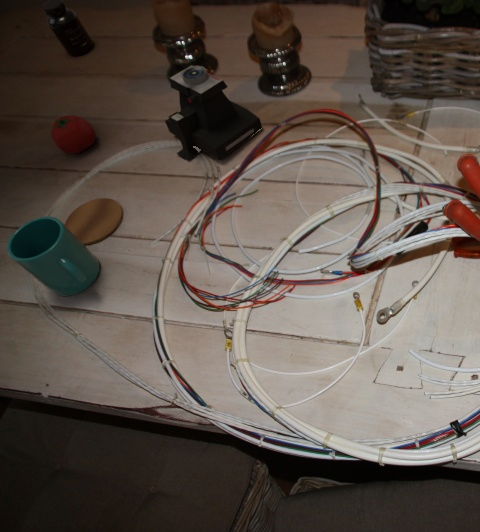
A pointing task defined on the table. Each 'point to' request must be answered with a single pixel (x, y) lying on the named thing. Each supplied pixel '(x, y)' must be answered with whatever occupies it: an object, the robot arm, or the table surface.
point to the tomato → (72, 134)
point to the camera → (208, 115)
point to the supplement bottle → (67, 28)
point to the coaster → (95, 220)
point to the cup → (53, 256)
